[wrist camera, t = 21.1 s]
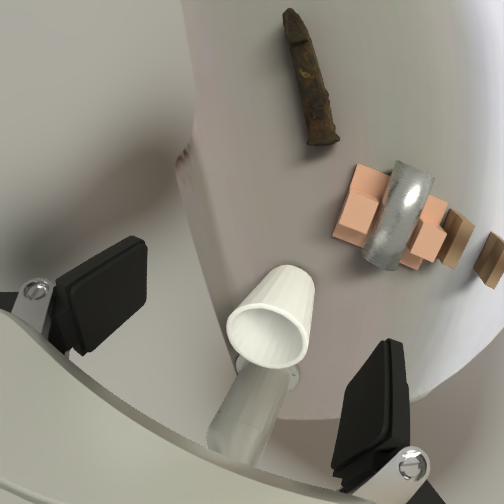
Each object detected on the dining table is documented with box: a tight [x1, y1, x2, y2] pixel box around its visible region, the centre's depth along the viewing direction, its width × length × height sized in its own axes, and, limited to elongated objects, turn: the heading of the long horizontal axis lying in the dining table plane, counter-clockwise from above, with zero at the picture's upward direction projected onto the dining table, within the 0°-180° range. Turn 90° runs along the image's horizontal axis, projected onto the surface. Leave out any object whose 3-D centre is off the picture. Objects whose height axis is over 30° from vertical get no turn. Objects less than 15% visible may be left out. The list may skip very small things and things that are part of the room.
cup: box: [226, 265, 315, 369], centre depth 36 cm, size 10×10×13 cm
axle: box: [361, 160, 435, 271], centre depth 29 cm, size 12×5×5 cm, turn 166°
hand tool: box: [282, 8, 340, 146], centre depth 27 cm, size 19×4×5 cm, turn 10°
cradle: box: [332, 163, 448, 270], centre depth 31 cm, size 10×13×4 cm
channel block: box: [437, 209, 504, 289], centre depth 27 cm, size 6×10×5 cm, turn 76°
